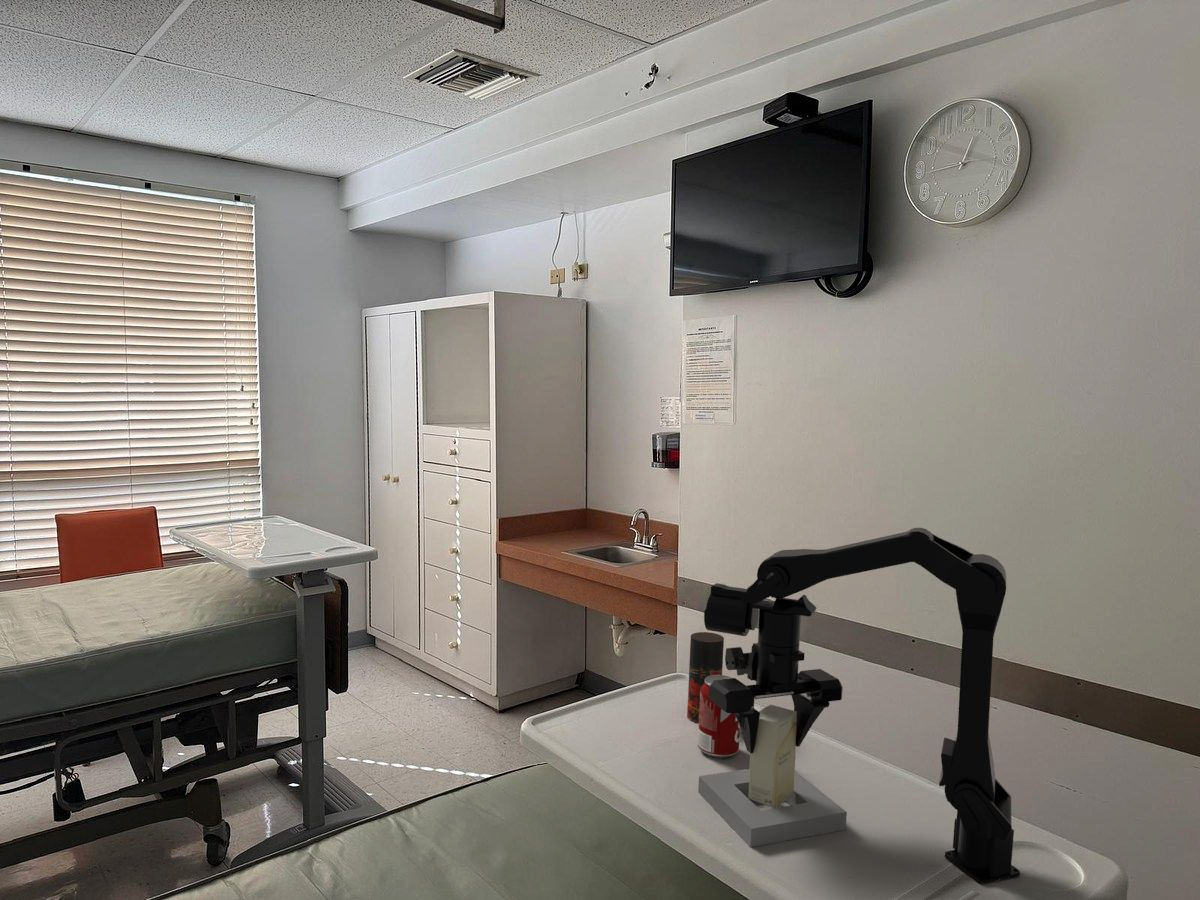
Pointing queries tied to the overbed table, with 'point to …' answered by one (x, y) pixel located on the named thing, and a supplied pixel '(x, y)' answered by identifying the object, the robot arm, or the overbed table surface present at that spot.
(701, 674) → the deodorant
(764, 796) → the skincare box
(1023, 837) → the overbed table surface
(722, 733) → the soda can
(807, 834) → the socket holder
